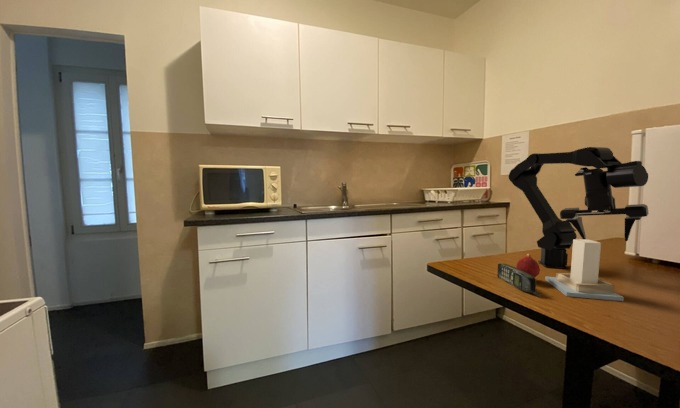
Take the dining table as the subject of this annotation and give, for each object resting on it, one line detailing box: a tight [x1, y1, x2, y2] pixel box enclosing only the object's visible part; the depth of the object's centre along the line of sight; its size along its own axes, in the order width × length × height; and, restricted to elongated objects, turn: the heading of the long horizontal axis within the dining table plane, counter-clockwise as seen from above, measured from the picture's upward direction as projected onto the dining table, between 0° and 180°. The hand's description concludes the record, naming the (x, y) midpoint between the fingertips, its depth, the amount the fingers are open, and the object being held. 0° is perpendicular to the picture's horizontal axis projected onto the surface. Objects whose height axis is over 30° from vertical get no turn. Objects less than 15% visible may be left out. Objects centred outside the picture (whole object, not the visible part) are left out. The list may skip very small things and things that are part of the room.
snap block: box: [570, 238, 602, 284], centre depth 75 cm, size 4×4×12 cm
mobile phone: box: [497, 263, 542, 297], centre depth 78 cm, size 5×3×15 cm
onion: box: [515, 253, 541, 279], centre depth 82 cm, size 6×6×8 cm
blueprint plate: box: [545, 275, 625, 302], centre depth 76 cm, size 12×12×1 cm
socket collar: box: [555, 272, 616, 293], centre depth 76 cm, size 9×9×2 cm
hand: (604, 240), depth 83 cm, fingers open, 9 cm apart
